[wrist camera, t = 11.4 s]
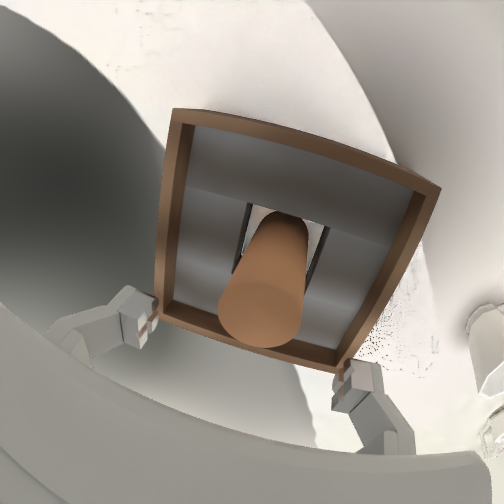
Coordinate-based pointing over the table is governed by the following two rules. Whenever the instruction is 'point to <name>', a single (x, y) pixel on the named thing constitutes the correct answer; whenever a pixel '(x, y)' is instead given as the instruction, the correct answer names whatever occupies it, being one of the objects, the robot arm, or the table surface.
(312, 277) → the box
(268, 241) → the peg
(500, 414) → the skeletal toy car
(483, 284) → the table surface
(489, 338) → the cup
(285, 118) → the table surface
